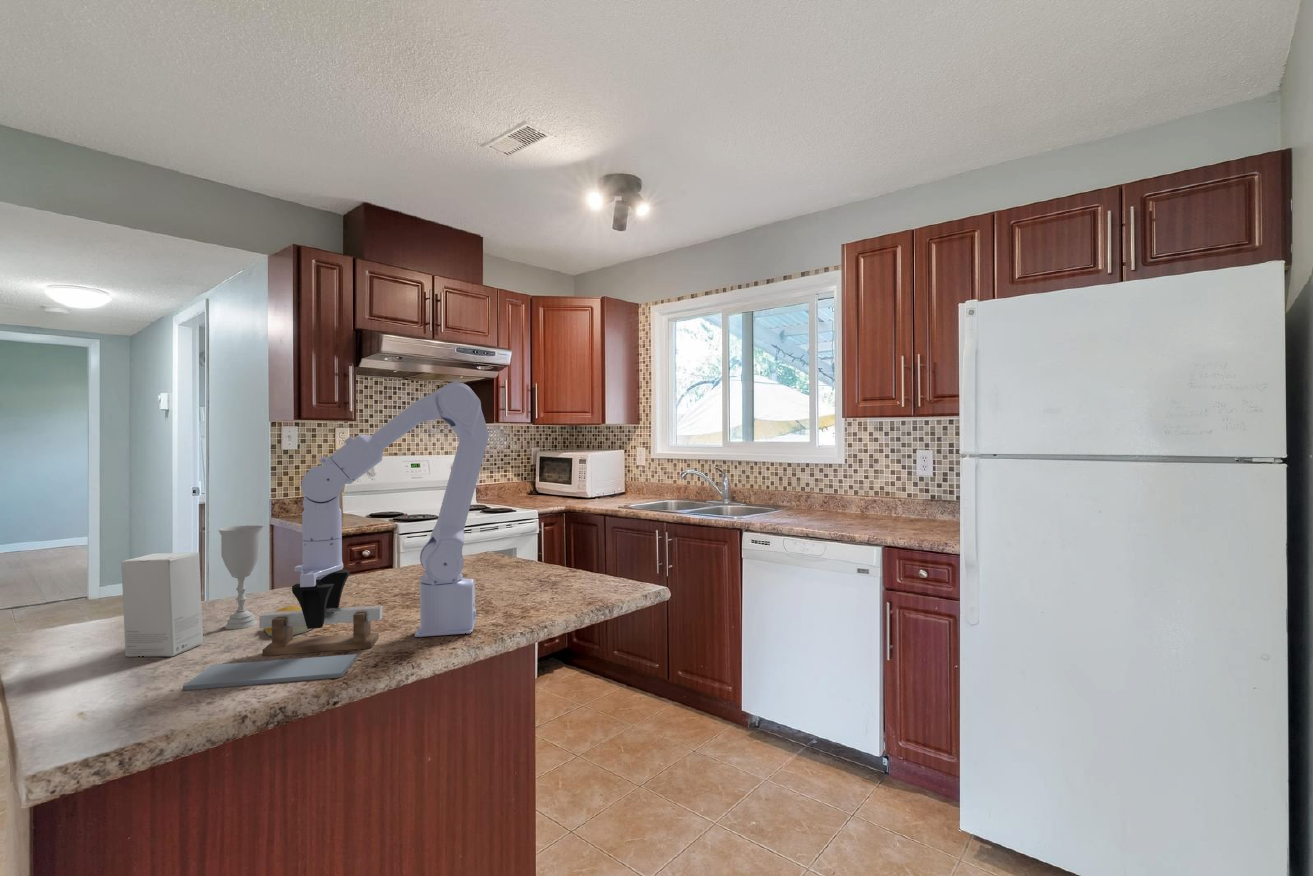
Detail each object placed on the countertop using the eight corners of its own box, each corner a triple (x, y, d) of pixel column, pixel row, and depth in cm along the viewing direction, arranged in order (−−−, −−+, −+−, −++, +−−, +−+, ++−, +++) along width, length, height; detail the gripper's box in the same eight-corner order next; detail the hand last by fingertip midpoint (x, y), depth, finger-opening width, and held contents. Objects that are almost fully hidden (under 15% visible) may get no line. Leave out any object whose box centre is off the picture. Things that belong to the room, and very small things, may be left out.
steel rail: (382, 617, 103) (382, 605, 103) (379, 620, 101) (379, 608, 101) (264, 624, 100) (264, 612, 100) (259, 628, 98) (259, 615, 98)
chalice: (209, 628, 111) (208, 529, 111) (246, 618, 118) (245, 524, 118) (235, 632, 109) (235, 531, 109) (272, 622, 115) (272, 526, 115)
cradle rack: (378, 638, 104) (378, 606, 105) (371, 648, 100) (371, 614, 100) (275, 645, 101) (275, 612, 101) (262, 656, 96) (262, 621, 96)
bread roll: (269, 641, 104) (269, 618, 104) (260, 629, 111) (260, 607, 111) (323, 631, 110) (322, 609, 110) (312, 620, 116) (311, 599, 116)
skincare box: (204, 644, 102) (203, 551, 102) (170, 658, 96) (169, 559, 96) (156, 644, 103) (156, 551, 103) (120, 658, 96) (119, 559, 96)
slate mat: (357, 658, 95) (357, 654, 95) (341, 677, 87) (341, 673, 87) (212, 669, 91) (212, 665, 91) (182, 690, 83) (182, 686, 83)
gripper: (311, 533, 107) (311, 610, 107) (277, 547, 93) (278, 636, 92) (354, 531, 108) (354, 608, 108) (328, 545, 94) (328, 633, 94)
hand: (322, 621), depth 100 cm, fingers open, 7 cm apart
